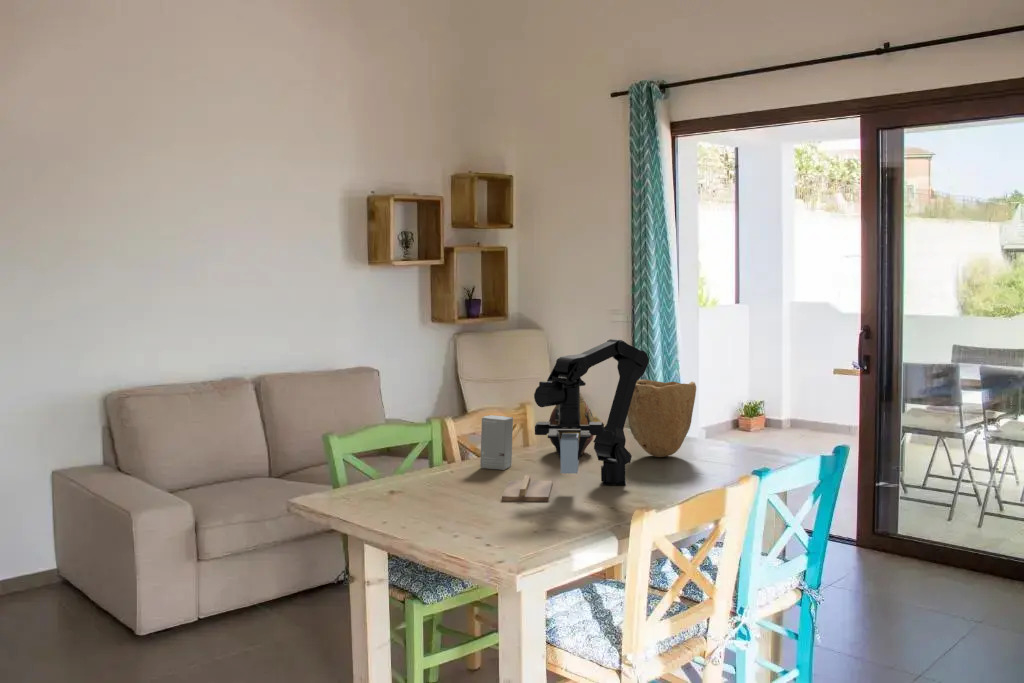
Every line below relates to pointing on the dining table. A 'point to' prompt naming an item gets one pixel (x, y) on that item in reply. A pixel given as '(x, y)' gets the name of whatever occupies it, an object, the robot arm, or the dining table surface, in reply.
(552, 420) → the ceramic jug
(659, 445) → the brown stone pot
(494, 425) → the skincare box
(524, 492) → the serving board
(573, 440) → the blue block
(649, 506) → the dining table surface
